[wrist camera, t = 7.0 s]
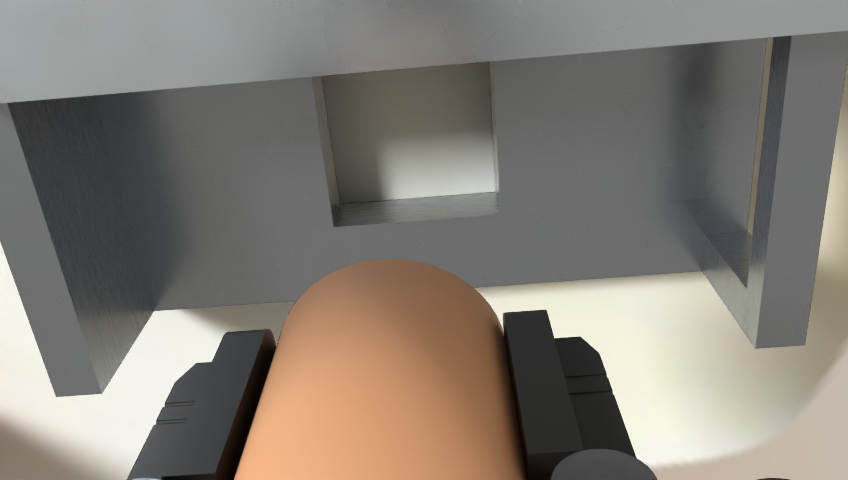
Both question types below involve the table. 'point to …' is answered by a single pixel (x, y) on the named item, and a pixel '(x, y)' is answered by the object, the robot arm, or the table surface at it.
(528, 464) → the robot arm
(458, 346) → the rounded orange stub
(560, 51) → the cover
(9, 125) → the housing
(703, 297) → the table surface
